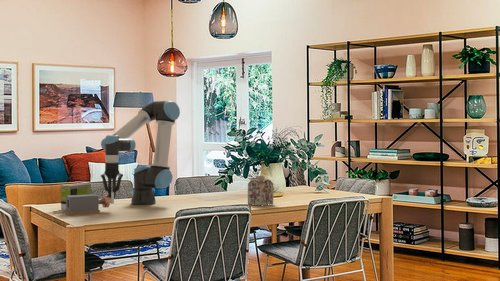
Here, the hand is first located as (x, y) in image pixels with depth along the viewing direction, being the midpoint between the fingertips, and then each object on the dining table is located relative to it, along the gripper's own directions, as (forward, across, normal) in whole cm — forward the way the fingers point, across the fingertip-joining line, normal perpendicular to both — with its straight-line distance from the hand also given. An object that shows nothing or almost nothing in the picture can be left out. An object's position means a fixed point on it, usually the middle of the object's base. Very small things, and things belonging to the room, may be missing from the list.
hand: (111, 203), depth 385 cm
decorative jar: (+5, -90, +15) cm, 91 cm away
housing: (+5, +17, 0) cm, 18 cm away
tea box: (+5, +15, -20) cm, 26 cm away
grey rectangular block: (+2, +13, 0) cm, 13 cm away
